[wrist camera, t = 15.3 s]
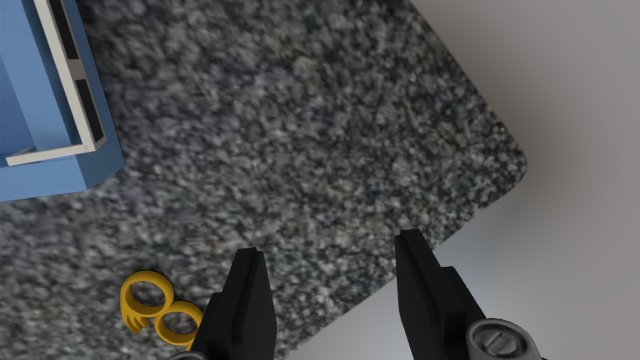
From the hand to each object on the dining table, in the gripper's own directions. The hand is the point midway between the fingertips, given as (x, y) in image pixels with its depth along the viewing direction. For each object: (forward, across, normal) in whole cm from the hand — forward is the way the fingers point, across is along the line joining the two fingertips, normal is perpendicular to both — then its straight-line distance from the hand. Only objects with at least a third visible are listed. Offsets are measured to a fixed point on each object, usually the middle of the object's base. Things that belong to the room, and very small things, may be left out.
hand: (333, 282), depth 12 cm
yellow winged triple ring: (+29, +20, +22) cm, 42 cm away
